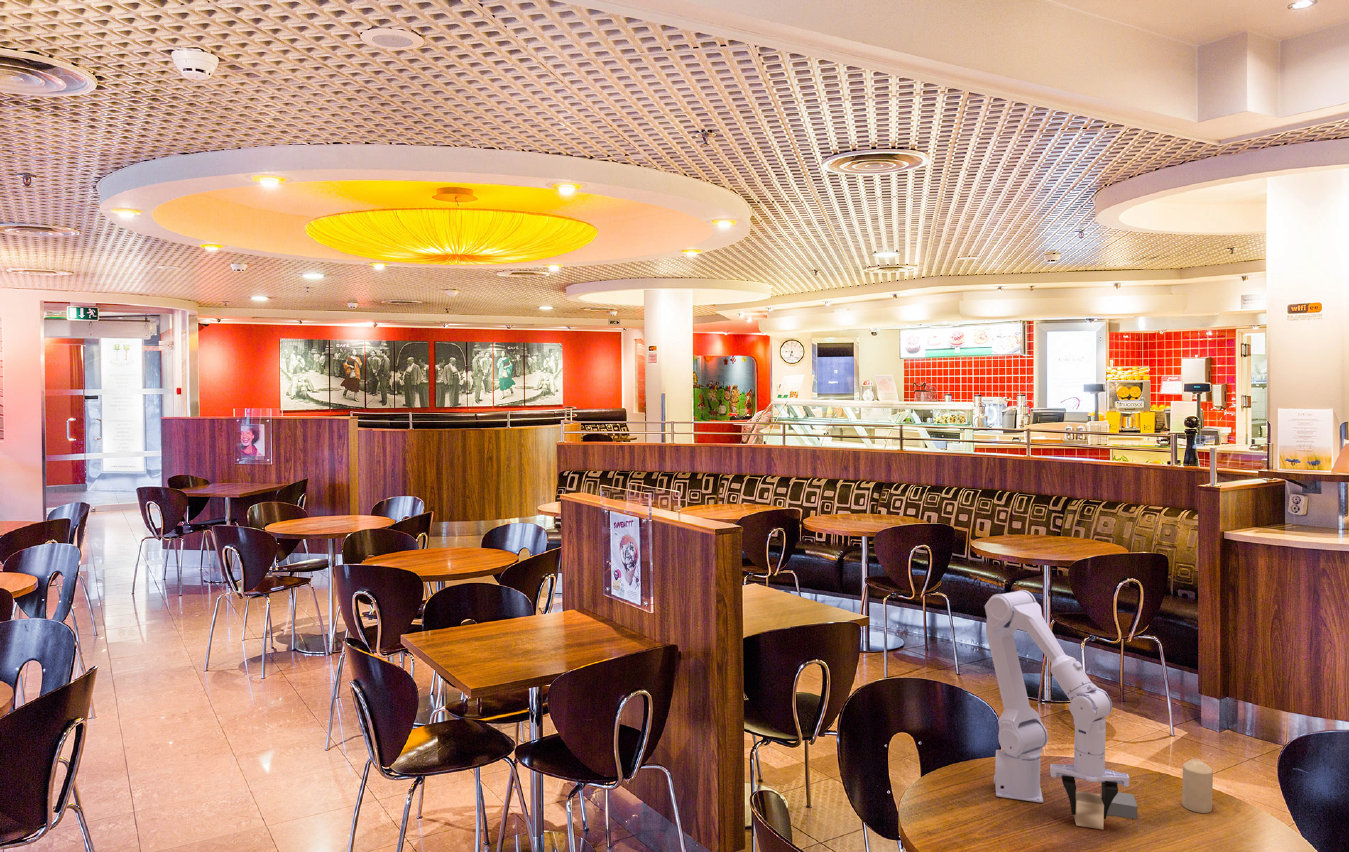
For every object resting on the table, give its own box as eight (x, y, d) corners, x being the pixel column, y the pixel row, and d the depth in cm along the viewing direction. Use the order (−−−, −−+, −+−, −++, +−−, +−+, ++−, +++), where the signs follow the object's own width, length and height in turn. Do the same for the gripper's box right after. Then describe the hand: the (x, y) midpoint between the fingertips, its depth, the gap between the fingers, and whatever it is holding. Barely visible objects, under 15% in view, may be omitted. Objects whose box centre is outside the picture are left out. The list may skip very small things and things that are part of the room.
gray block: (1104, 815, 182) (1105, 801, 182) (1102, 803, 188) (1102, 789, 187) (1137, 821, 180) (1137, 806, 180) (1133, 808, 185) (1133, 794, 185)
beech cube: (1076, 825, 177) (1076, 801, 176) (1073, 814, 181) (1073, 790, 181) (1103, 829, 175) (1103, 804, 175) (1099, 818, 180) (1100, 794, 180)
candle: (1216, 814, 182) (1217, 767, 182) (1187, 812, 183) (1188, 765, 183) (1205, 802, 187) (1207, 757, 187) (1177, 800, 188) (1178, 754, 188)
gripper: (1053, 752, 176) (1051, 818, 177) (1132, 762, 172) (1131, 829, 172) (1049, 739, 183) (1048, 802, 183) (1126, 748, 178) (1124, 813, 179)
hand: (1088, 814), depth 178 cm, fingers closed on beech cube, 5 cm apart
